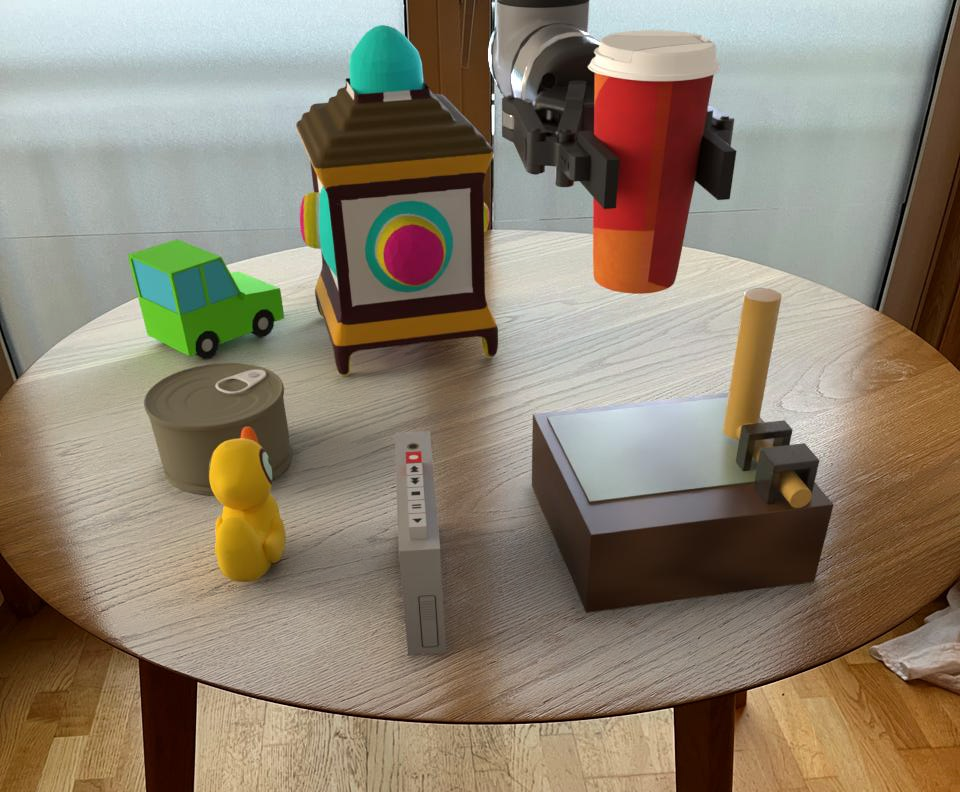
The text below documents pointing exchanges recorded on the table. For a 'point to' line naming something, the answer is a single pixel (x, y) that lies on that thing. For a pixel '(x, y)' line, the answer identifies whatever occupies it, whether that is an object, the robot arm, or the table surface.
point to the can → (216, 418)
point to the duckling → (245, 509)
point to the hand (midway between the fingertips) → (669, 180)
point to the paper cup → (648, 151)
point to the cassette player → (419, 544)
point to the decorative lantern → (396, 207)
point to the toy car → (200, 299)
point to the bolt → (757, 380)
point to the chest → (674, 502)
